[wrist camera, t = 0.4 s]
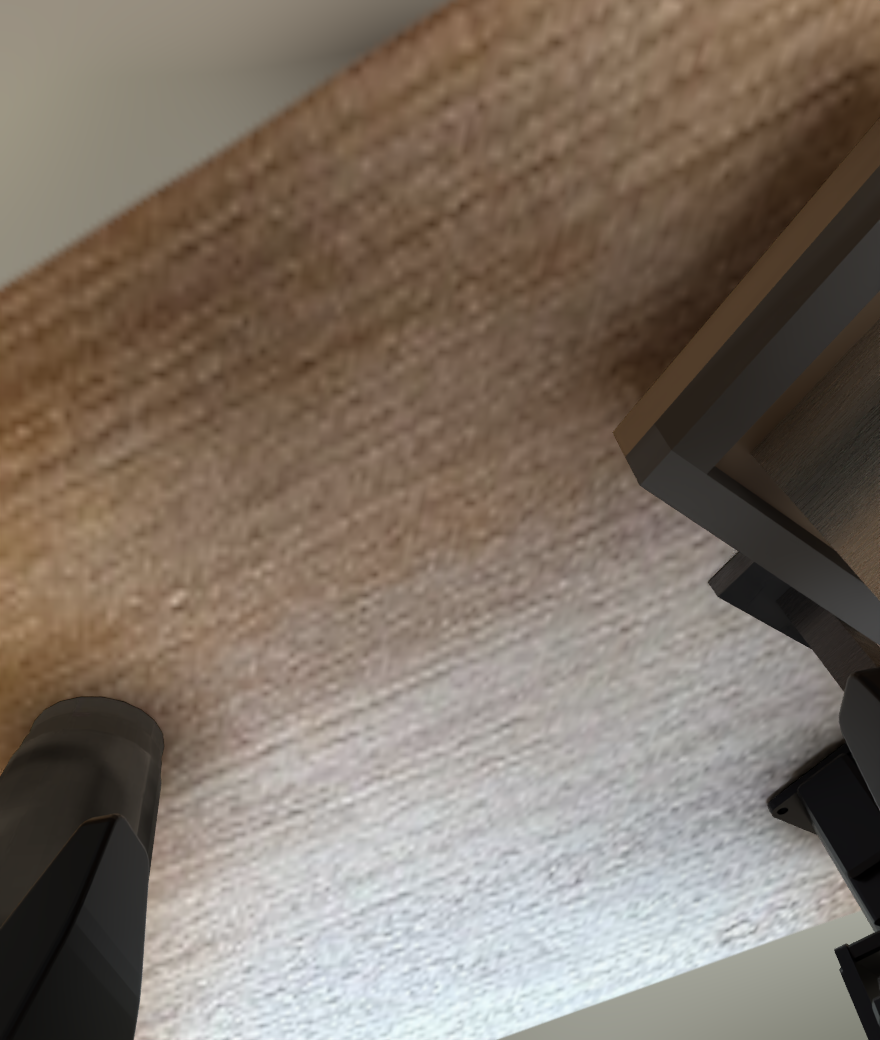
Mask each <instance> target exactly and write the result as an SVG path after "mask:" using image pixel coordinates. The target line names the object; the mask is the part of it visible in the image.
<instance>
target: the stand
mask: <svg viewBox="0 0 880 1040" xmlns="http://www.w3.org/2000/svg"><path fill="white" fill-rule="evenodd" d="M708 583H709V584H710V586H711V587H712V589H713V590H714V592H715V593H716V595H717V596H718V597H719V598H721V599H723V600H724V601H726V602H728V603H730V604H732V605H733V606H735V607H737V608H739V609H741V610H742V611H744V612H746V613H748V614H750V615H751V616H753V617H755V618H757V619H758V620H760V621H762V622H764V623H766V624H767V625H769V626H771V627H773V628H775V629H776V630H778V631H780V632H782V633H784V634H785V635H787V636H789V637H791V638H792V639H794V640H796V641H798V642H800V643H801V644H803V645H805V646H807V647H809V648H810V649H812V650H813V651H814V653H815V654H816V655H817V656H818V658H819V659H820V660H821V662H822V663H823V664H824V666H825V667H826V668H827V670H828V671H829V672H830V674H831V675H832V676H833V678H834V679H835V680H836V682H837V683H838V684H839V686H840V687H841V688H842V690H843V691H844V692H845V687H846V683H847V679H848V677H849V676H850V675H851V674H852V673H853V672H855V671H860V670H865V669H870V668H876V667H880V647H879V646H878V645H877V643H875V642H874V641H872V640H871V639H869V638H868V637H866V636H865V635H863V634H862V633H860V632H859V631H857V630H856V629H854V628H853V627H851V626H850V625H848V624H847V623H845V622H844V621H842V620H841V619H839V618H838V617H836V616H835V615H833V614H832V613H830V612H829V611H827V610H826V609H824V608H823V607H821V606H820V605H818V604H817V603H815V602H814V601H812V600H811V599H809V598H808V597H806V596H805V595H803V594H802V593H800V592H799V591H797V590H796V589H794V588H793V587H791V586H790V585H788V584H787V583H785V582H784V581H782V580H781V579H779V578H778V577H776V576H775V575H773V574H772V573H770V572H769V571H767V570H766V569H764V568H763V567H761V566H760V565H758V564H757V563H755V562H754V561H752V560H751V559H749V558H748V557H746V556H745V555H743V554H742V553H740V552H739V553H738V554H737V555H736V556H734V557H733V558H732V559H731V560H730V561H729V562H728V563H727V564H726V565H725V566H724V567H723V568H722V569H721V570H720V571H719V572H718V573H717V574H716V575H715V576H714V577H713V578H712V579H711V580H710V581H709V582H708Z"/></svg>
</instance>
